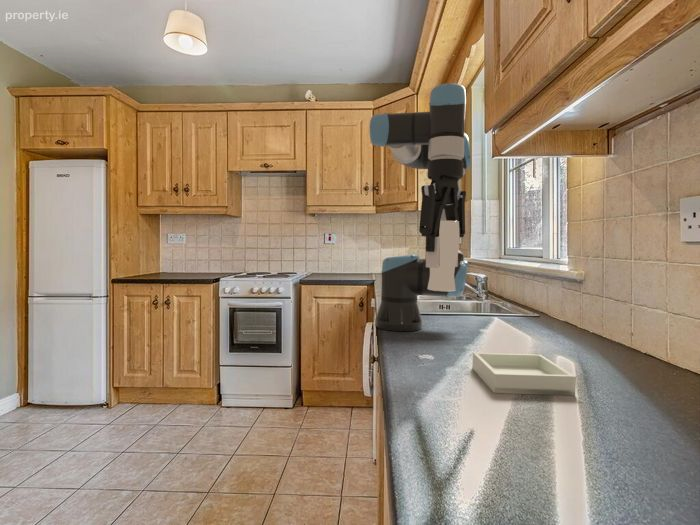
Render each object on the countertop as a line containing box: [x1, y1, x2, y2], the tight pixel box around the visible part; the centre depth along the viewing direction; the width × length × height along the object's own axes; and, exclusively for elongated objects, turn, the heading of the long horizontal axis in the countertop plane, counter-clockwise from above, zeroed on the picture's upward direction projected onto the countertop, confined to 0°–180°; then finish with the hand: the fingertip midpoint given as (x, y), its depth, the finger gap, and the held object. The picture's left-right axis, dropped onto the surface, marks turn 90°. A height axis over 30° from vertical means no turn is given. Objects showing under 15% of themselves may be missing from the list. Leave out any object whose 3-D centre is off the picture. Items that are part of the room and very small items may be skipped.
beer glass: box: [427, 220, 461, 291], centre depth 89 cm, size 7×7×15 cm
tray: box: [472, 352, 577, 396], centre depth 81 cm, size 15×15×4 cm
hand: (442, 266), depth 89 cm, fingers closed on beer glass, 7 cm apart
